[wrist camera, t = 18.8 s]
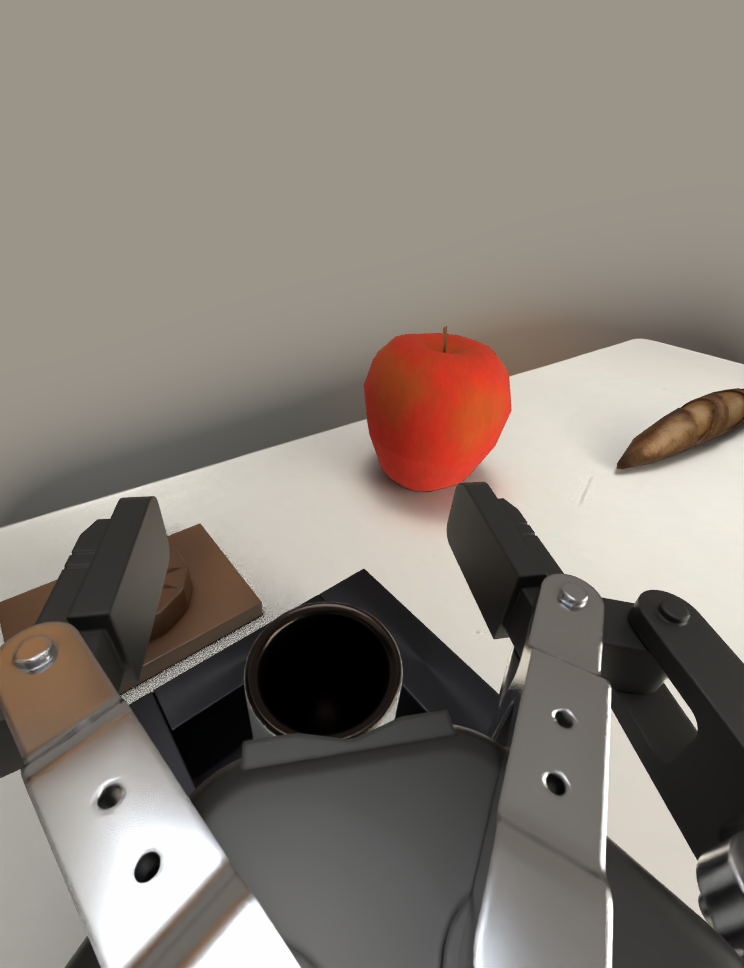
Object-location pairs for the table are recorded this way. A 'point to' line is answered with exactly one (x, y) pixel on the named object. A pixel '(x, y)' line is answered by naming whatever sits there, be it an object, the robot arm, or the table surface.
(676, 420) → the bread
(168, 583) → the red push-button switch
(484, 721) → the open-top black bin
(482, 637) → the table surface
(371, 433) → the apple
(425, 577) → the table surface
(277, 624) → the dark grey hollow cylinder
